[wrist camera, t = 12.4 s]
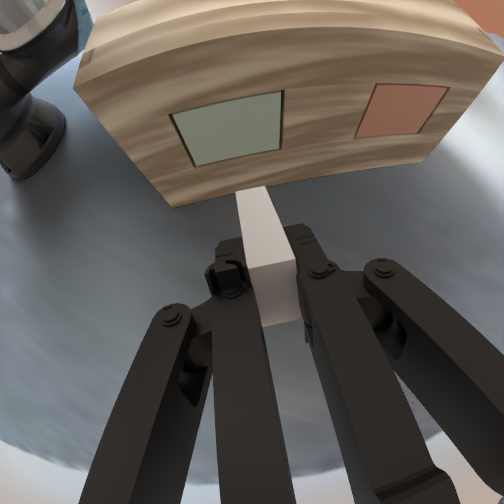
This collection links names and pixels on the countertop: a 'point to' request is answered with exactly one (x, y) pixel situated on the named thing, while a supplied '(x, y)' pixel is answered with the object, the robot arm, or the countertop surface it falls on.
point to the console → (277, 82)
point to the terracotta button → (398, 108)
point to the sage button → (231, 127)
